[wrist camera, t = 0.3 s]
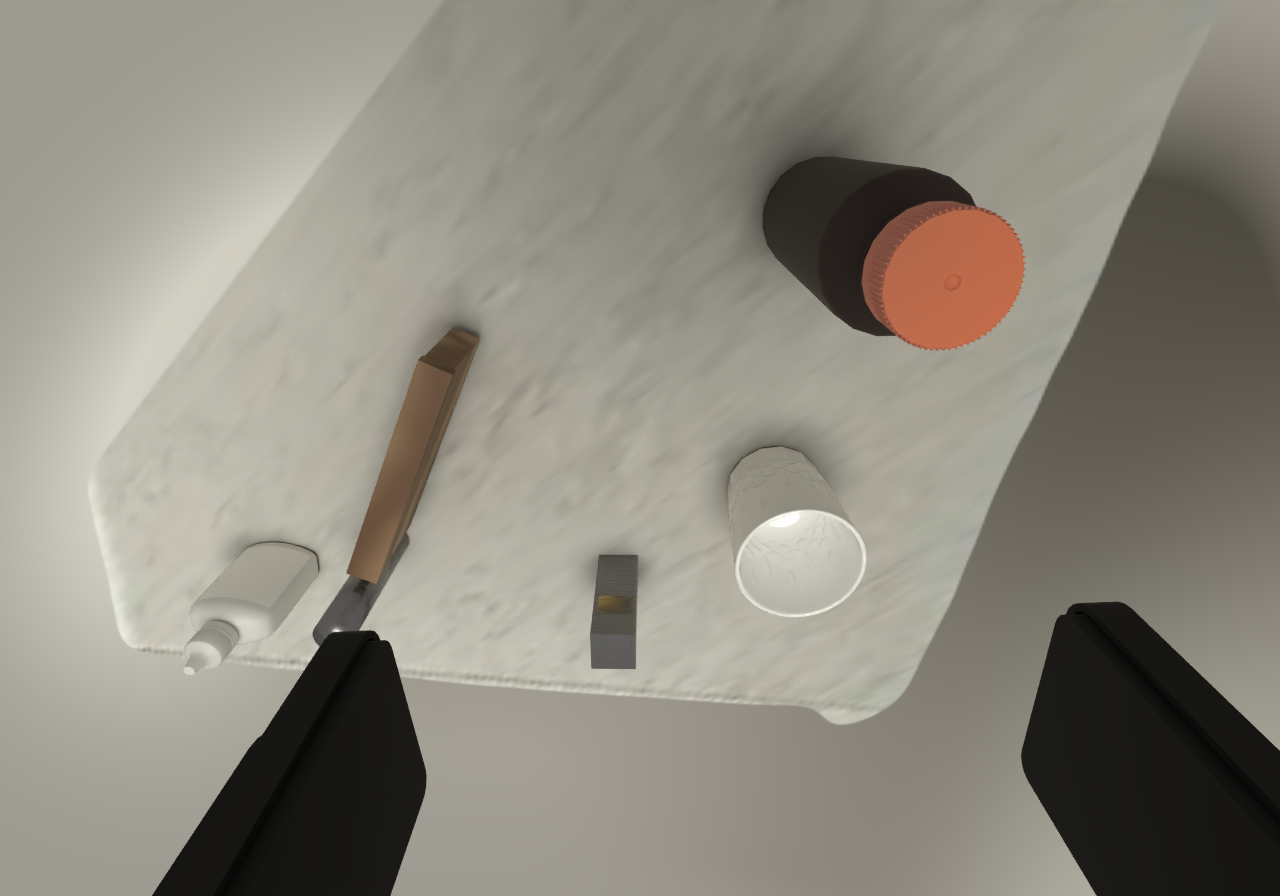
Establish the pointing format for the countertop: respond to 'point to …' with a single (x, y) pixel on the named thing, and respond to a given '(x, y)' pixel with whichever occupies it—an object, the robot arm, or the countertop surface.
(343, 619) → the grey glass test tube
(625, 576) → the post
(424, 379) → the brown wooden board
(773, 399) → the countertop surface
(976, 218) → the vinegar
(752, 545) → the white cup
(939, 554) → the countertop surface
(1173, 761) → the robot arm
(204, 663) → the eye dropper bottle
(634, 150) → the countertop surface
